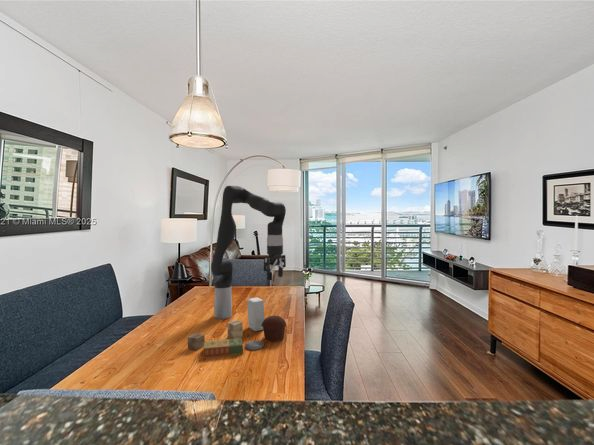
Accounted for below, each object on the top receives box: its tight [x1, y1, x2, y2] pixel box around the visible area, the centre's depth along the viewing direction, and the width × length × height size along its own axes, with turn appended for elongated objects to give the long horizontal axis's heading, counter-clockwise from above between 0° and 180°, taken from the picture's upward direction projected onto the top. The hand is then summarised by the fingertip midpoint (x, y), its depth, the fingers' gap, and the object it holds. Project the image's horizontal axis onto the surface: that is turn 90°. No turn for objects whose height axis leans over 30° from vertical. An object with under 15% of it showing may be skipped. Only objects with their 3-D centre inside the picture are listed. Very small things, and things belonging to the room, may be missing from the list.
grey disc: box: [244, 340, 265, 351], centre depth 137 cm, size 8×8×1 cm
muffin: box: [261, 315, 287, 343], centre depth 146 cm, size 12×11×10 cm
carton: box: [202, 337, 244, 359], centre depth 132 cm, size 8×16×4 cm, turn 104°
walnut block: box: [187, 332, 206, 351], centre depth 137 cm, size 5×5×5 cm
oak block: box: [226, 319, 244, 339], centre depth 147 cm, size 5×5×7 cm
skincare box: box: [246, 296, 265, 332], centre depth 158 cm, size 8×6×15 cm
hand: (275, 278), depth 147 cm, fingers open, 8 cm apart
